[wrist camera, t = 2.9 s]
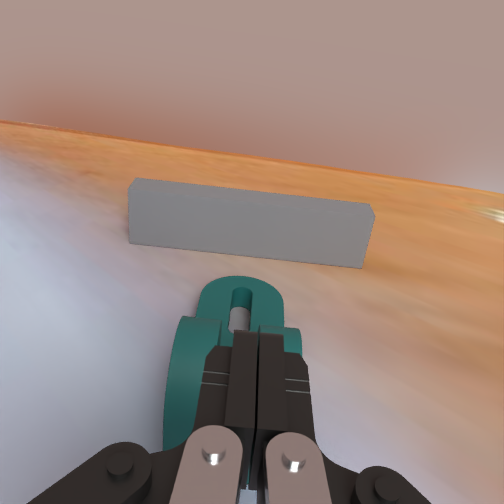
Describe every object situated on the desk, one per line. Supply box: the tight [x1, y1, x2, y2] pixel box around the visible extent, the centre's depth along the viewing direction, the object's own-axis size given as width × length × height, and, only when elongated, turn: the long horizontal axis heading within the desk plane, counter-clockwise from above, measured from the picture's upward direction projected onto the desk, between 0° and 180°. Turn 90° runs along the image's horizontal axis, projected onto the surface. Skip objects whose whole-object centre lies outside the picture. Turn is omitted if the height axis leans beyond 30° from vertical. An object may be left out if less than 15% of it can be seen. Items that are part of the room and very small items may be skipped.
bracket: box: [163, 276, 302, 484], centre depth 32 cm, size 18×7×8 cm, turn 178°
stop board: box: [128, 178, 375, 269], centre depth 47 cm, size 24×3×6 cm, turn 88°
